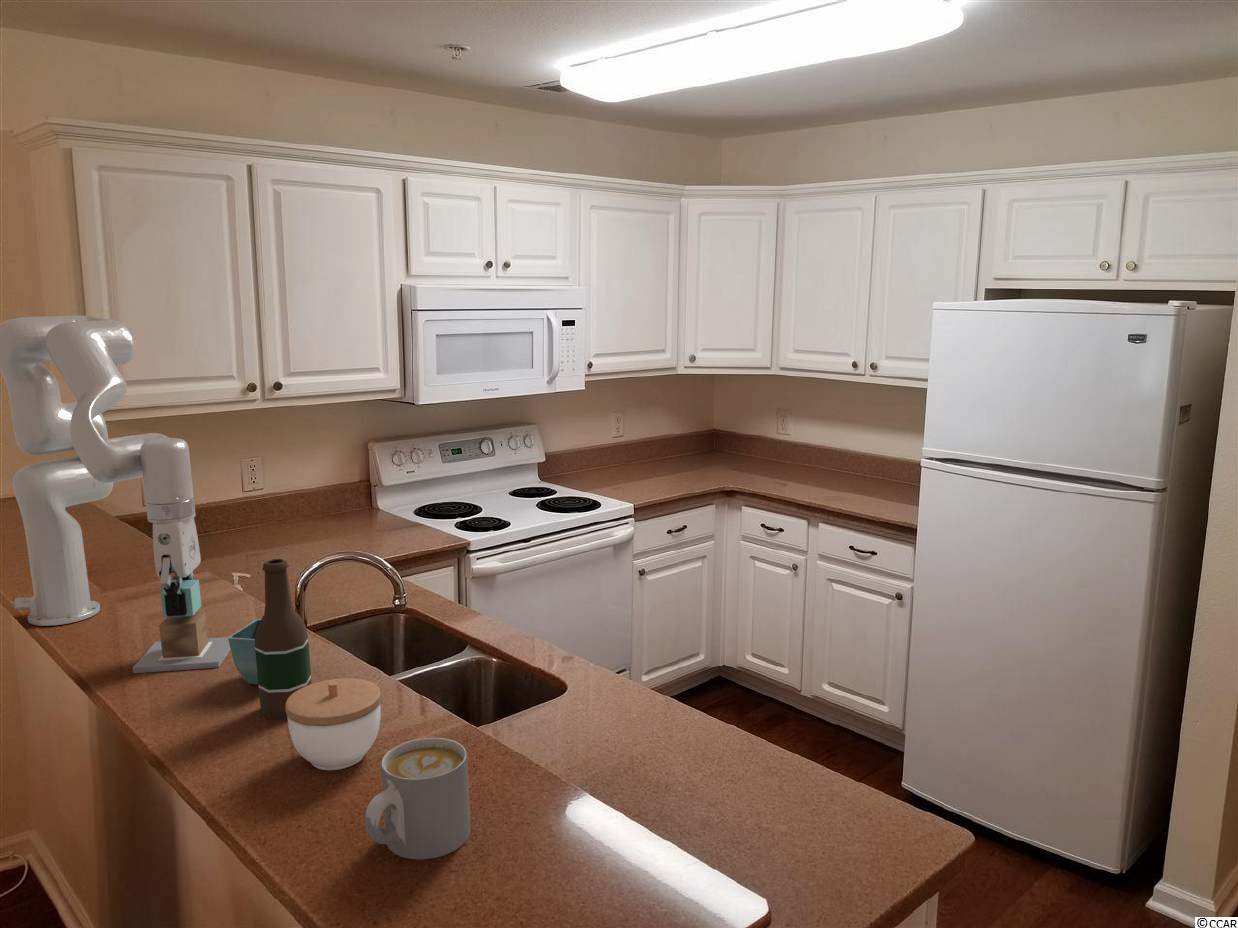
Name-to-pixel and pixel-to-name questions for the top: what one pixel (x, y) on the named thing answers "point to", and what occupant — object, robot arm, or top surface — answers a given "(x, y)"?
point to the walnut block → (183, 635)
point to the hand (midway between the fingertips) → (181, 608)
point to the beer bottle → (280, 644)
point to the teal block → (186, 597)
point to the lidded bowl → (334, 721)
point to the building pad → (184, 658)
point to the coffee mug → (422, 799)
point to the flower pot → (245, 651)
